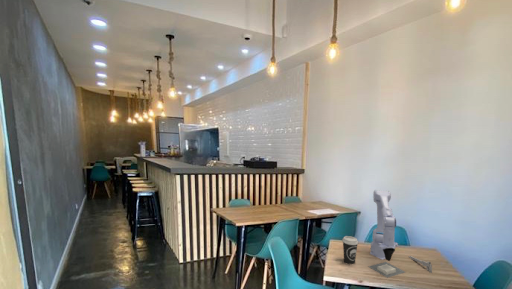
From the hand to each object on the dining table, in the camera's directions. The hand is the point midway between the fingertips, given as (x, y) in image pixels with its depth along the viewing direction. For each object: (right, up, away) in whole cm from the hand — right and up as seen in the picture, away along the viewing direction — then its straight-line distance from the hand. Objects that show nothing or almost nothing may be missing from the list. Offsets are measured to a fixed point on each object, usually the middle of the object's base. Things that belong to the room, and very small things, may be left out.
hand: (387, 260), depth 143 cm
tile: (+3, -6, +1) cm, 6 cm away
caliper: (+25, -8, +10) cm, 28 cm away
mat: (0, -7, +2) cm, 7 cm away
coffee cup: (-19, -6, +10) cm, 22 cm away
